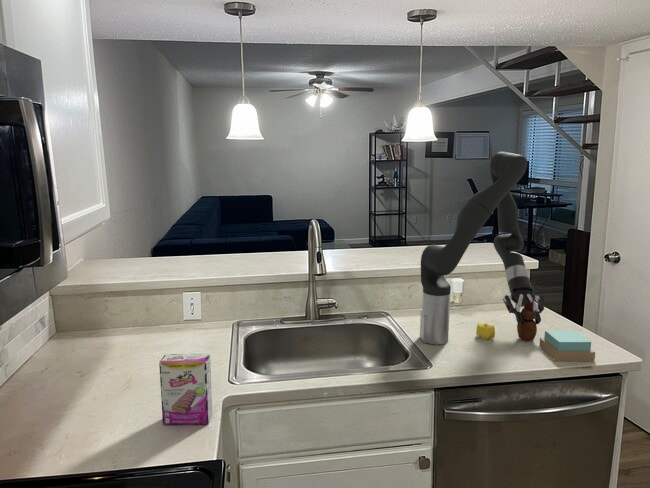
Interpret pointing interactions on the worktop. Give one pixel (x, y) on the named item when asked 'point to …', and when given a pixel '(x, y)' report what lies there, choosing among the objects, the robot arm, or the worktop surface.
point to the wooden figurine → (527, 323)
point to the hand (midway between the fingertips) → (529, 323)
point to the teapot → (485, 331)
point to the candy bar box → (186, 389)
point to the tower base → (566, 353)
